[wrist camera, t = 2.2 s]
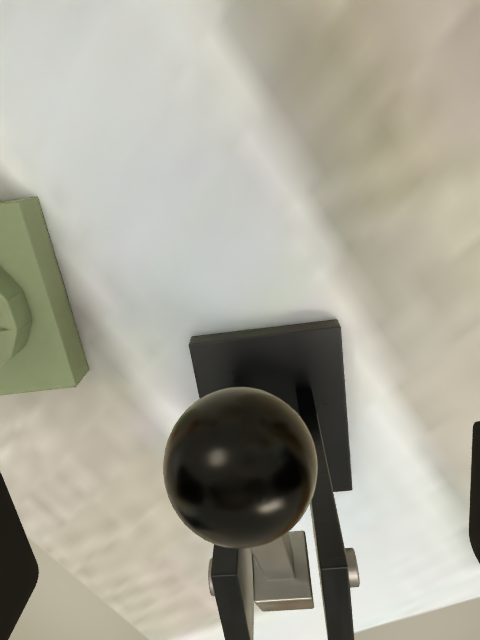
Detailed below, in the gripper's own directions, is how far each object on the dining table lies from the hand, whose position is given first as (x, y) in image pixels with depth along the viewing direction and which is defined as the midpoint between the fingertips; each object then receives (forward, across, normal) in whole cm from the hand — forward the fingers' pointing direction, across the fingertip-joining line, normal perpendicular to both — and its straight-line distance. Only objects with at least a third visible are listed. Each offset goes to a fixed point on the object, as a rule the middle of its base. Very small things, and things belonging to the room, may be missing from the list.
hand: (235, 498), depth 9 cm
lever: (+5, 0, +4) cm, 7 cm away
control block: (+19, +16, 0) cm, 25 cm away
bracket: (+19, 0, +10) cm, 21 cm away
